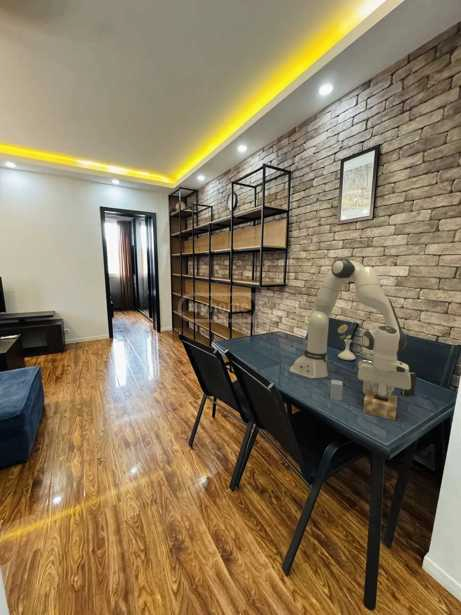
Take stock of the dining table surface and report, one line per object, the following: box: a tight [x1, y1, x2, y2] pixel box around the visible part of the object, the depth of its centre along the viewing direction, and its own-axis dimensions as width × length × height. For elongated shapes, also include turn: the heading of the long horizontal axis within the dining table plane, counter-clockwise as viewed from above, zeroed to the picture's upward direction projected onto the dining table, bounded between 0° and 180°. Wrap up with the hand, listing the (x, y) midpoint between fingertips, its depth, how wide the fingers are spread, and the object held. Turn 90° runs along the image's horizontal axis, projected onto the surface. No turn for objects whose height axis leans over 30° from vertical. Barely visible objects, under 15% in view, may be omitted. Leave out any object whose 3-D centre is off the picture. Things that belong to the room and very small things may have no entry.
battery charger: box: [400, 371, 418, 397], centre depth 130 cm, size 7×4×11 cm, turn 105°
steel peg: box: [376, 382, 388, 402], centre depth 114 cm, size 4×4×10 cm
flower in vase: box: [337, 324, 356, 361], centre depth 181 cm, size 13×11×25 cm
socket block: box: [362, 389, 398, 421], centre depth 115 cm, size 12×12×6 cm
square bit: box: [329, 379, 344, 402], centre depth 126 cm, size 5×5×8 cm
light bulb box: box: [362, 380, 391, 395], centre depth 129 cm, size 11×7×11 cm, turn 92°
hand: (381, 393), depth 114 cm, fingers closed on steel peg, 4 cm apart
